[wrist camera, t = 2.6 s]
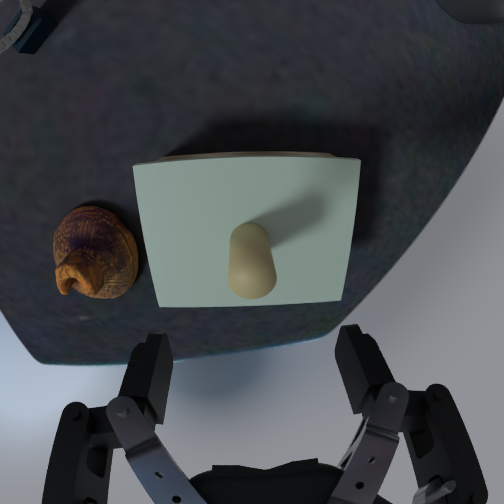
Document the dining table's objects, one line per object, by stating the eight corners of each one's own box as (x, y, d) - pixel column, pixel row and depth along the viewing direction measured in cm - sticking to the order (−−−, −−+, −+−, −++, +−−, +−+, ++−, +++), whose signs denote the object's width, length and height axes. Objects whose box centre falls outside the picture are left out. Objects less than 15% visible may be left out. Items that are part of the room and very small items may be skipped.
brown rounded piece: (147, 217, 28) (123, 249, 21) (136, 302, 33) (119, 342, 27) (59, 193, 26) (22, 217, 19) (60, 277, 31) (34, 310, 25)
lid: (356, 158, 20) (396, 177, 14) (338, 295, 26) (359, 341, 20) (136, 163, 19) (100, 185, 14) (161, 301, 25) (145, 349, 20)
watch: (9, 48, 15) (-51, 47, 6) (49, -3, 13) (-7, -22, 4) (25, 68, 18) (-41, 69, 8) (67, 13, 15) (7, -8, 6)
